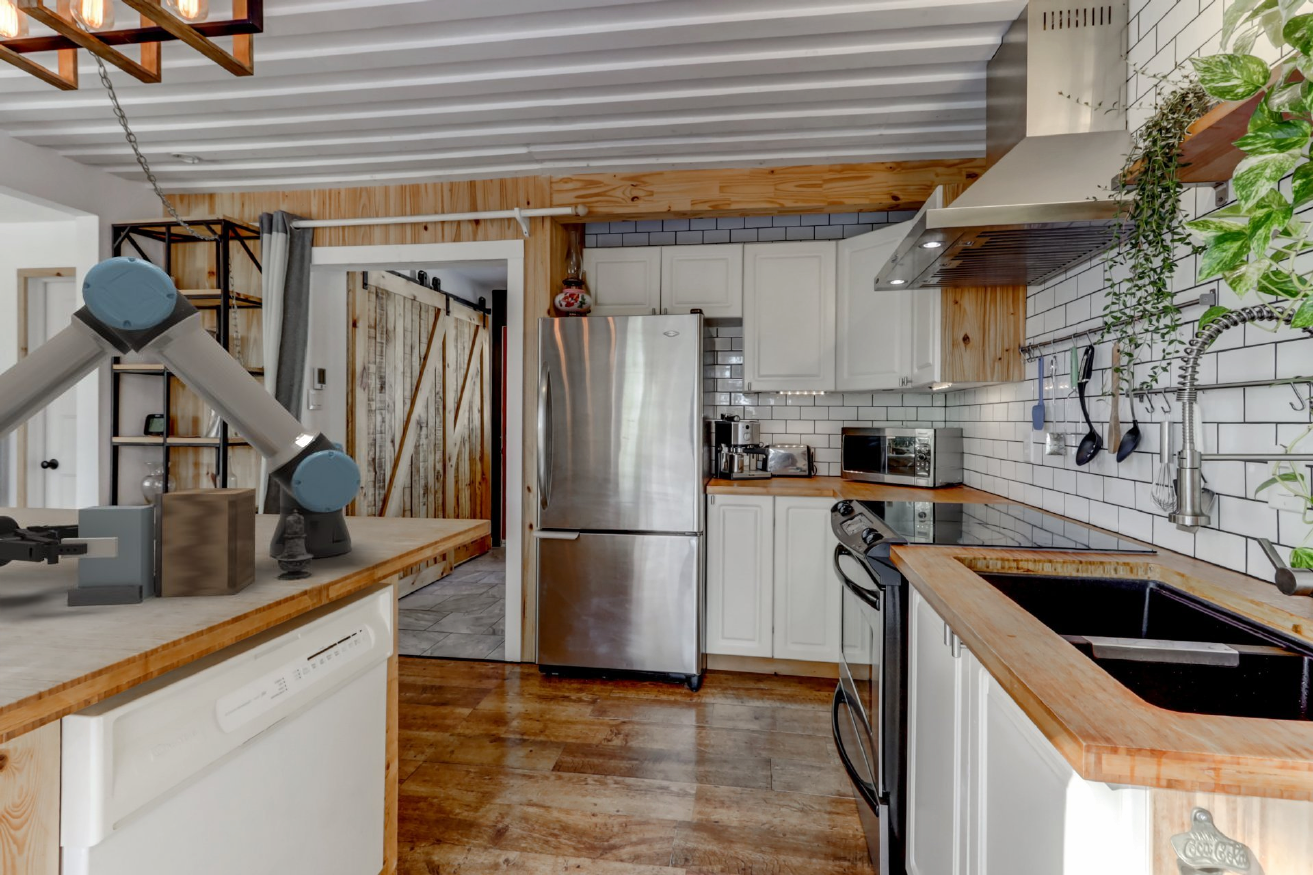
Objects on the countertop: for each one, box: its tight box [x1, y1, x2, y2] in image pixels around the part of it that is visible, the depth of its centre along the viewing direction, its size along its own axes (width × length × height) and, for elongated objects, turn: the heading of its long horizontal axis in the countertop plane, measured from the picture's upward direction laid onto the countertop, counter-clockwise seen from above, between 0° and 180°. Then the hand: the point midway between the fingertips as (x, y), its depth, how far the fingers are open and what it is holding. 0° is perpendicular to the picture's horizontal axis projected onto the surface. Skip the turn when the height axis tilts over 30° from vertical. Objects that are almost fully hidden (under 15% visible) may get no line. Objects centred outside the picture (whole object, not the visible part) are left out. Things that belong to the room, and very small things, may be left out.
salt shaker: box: [275, 509, 314, 581], centre depth 115 cm, size 6×6×12 cm
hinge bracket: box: [66, 574, 155, 607], centre depth 99 cm, size 9×8×2 cm
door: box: [77, 505, 155, 600], centre depth 99 cm, size 8×5×14 cm, turn 104°
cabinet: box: [154, 487, 257, 598], centre depth 106 cm, size 11×9×16 cm
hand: (141, 538), depth 100 cm, fingers open, 13 cm apart
